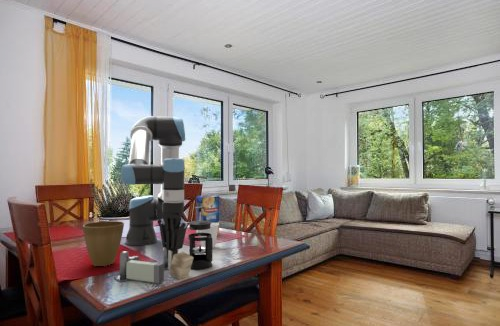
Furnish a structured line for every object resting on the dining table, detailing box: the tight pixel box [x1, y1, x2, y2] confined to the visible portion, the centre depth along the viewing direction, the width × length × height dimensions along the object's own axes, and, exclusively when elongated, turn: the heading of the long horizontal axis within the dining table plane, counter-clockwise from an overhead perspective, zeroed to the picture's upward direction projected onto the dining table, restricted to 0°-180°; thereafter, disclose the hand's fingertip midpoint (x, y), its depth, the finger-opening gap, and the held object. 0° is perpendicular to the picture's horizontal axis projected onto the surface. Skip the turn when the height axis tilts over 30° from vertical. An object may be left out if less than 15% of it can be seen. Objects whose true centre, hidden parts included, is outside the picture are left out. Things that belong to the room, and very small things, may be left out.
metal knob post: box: [113, 250, 140, 283], centre depth 109 cm, size 8×6×9 cm
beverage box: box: [195, 194, 220, 236], centre depth 176 cm, size 7×11×22 cm, turn 133°
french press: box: [188, 207, 213, 271], centre depth 121 cm, size 12×9×23 cm
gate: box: [126, 260, 165, 284], centre depth 105 cm, size 13×3×6 cm, turn 71°
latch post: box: [162, 246, 169, 271], centre depth 119 cm, size 4×4×8 cm
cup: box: [201, 223, 220, 249], centre depth 149 cm, size 10×10×11 cm
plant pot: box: [82, 220, 125, 267], centre depth 124 cm, size 15×15×16 cm
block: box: [168, 251, 194, 280], centre depth 109 cm, size 5×5×7 cm
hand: (172, 268), depth 111 cm, fingers closed
